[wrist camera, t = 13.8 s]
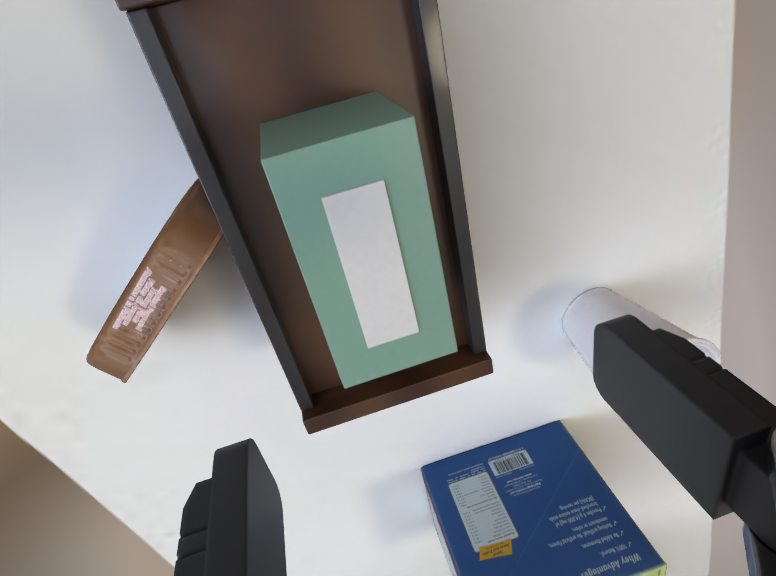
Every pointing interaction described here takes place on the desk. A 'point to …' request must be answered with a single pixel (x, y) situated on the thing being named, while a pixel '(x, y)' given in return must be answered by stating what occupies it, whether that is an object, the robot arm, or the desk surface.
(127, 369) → the brown food box
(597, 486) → the protein box
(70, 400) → the desk surface
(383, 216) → the tissue box
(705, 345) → the dixie cup
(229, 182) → the box
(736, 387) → the robot arm
